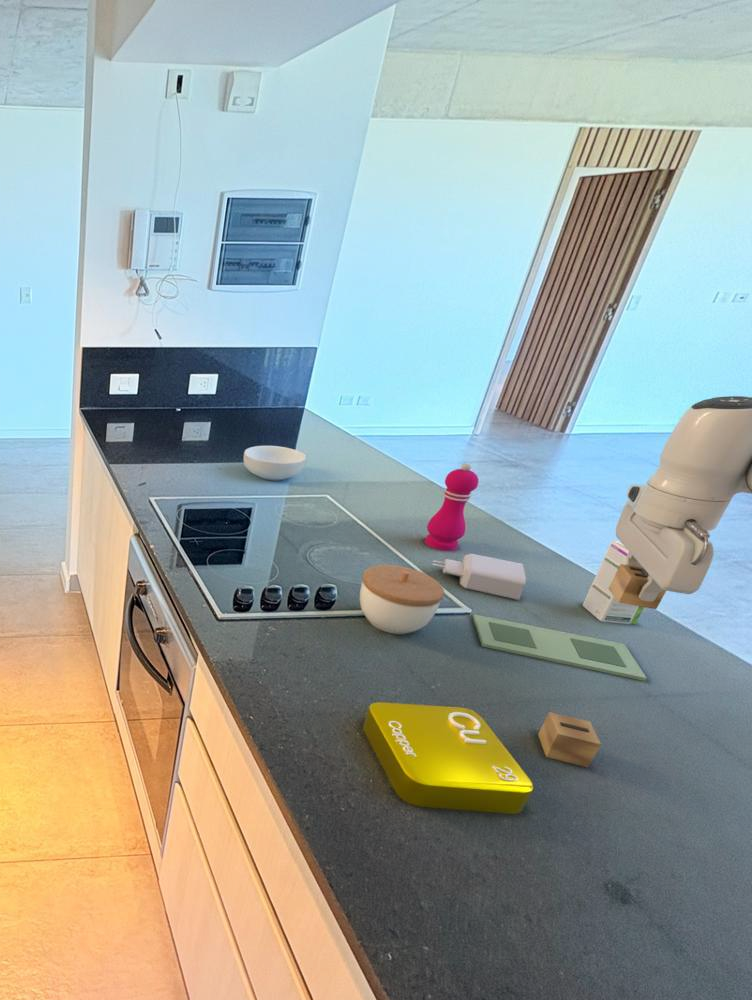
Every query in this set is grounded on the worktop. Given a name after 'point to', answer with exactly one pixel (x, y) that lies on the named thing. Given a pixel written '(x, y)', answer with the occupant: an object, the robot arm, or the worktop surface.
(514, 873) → the worktop surface
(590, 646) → the word board
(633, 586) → the block
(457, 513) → the pepper mill
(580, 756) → the block
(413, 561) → the worktop surface
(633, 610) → the syrup box
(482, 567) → the charger
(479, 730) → the element tile
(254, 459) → the cereal bowl
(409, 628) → the lidded bowl
